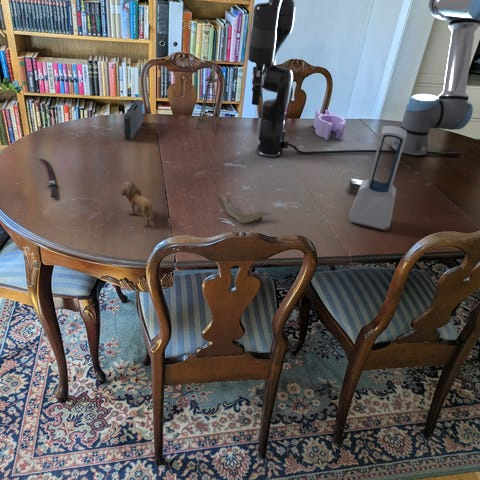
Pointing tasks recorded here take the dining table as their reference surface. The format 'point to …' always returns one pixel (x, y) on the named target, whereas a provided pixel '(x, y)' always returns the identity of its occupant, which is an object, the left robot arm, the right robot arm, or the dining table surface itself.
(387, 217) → the electronic device
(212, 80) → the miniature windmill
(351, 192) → the block
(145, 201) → the lion figurine
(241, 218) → the jawbone
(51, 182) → the sword
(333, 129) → the clip
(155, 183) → the dining table surface
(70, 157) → the dining table surface
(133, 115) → the handheld gaming console
